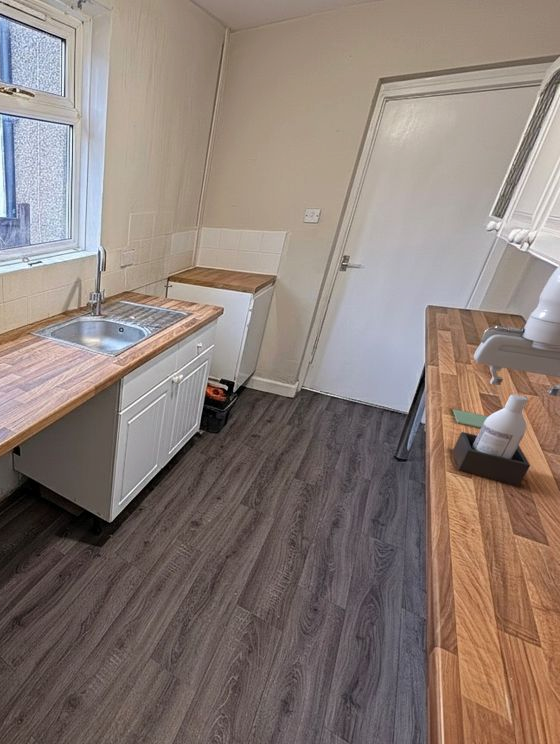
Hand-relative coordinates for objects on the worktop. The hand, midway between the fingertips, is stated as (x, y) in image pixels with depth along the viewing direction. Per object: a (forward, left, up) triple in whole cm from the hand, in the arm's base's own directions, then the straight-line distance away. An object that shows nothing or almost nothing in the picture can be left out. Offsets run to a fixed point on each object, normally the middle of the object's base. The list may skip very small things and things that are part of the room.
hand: (522, 389), depth 96 cm
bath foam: (0, 0, -22) cm, 22 cm away
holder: (0, 0, -22) cm, 22 cm away
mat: (-3, -31, -22) cm, 38 cm away
